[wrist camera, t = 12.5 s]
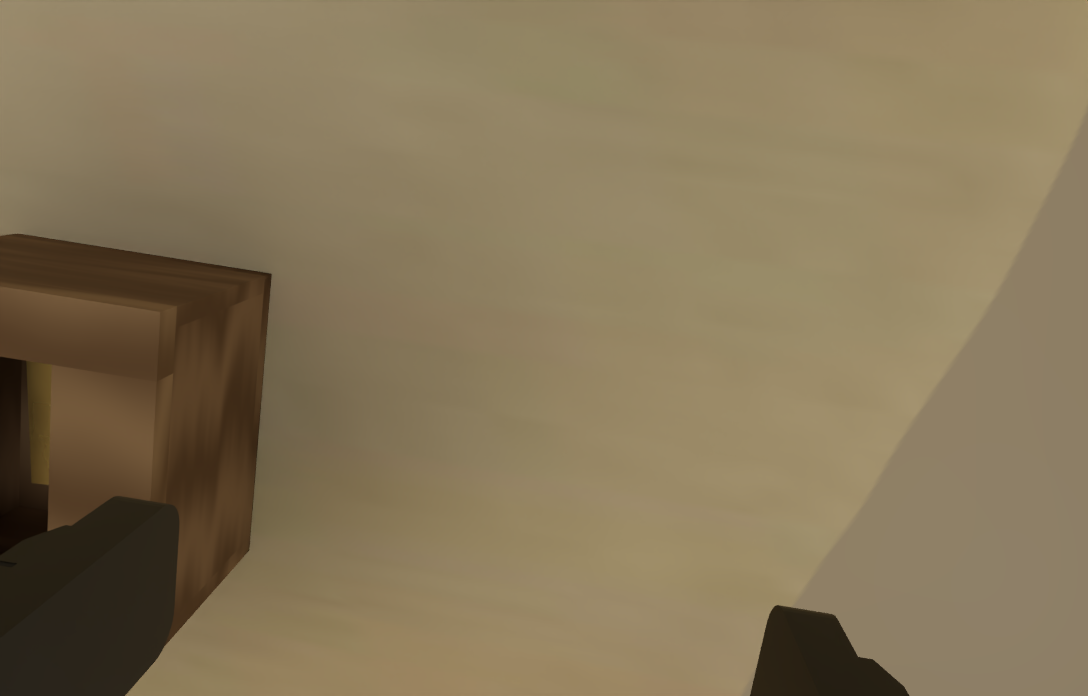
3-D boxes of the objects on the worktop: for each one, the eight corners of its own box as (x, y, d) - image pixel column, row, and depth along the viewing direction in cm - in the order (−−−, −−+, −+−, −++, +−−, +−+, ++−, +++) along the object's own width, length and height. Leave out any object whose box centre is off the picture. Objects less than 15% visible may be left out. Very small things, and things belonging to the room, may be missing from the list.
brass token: (109, 313, 39) (25, 339, 33) (162, 318, 39) (87, 346, 33) (112, 437, 40) (31, 483, 35) (163, 442, 40) (91, 489, 35)
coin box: (18, 233, 39) (-180, 257, 29) (271, 273, 39) (160, 311, 29) (13, 511, 42) (-167, 620, 32) (249, 550, 42) (141, 672, 32)
